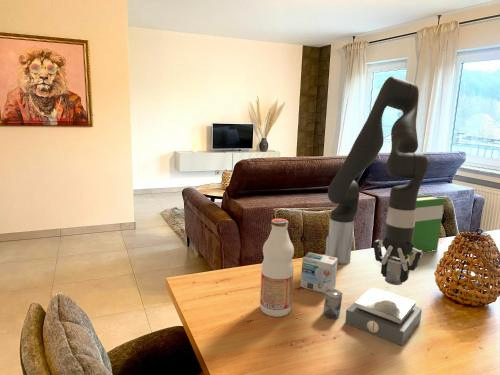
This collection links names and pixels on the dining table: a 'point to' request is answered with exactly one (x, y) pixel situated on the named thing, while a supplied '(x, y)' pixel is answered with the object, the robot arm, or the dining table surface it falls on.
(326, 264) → the light bulb box
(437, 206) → the green cereal box
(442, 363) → the dining table surface
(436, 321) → the dining table surface
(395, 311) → the platform
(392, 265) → the cylinder
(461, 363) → the dining table surface
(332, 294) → the cylinder
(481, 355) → the dining table surface
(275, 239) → the fruit juice
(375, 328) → the scale
